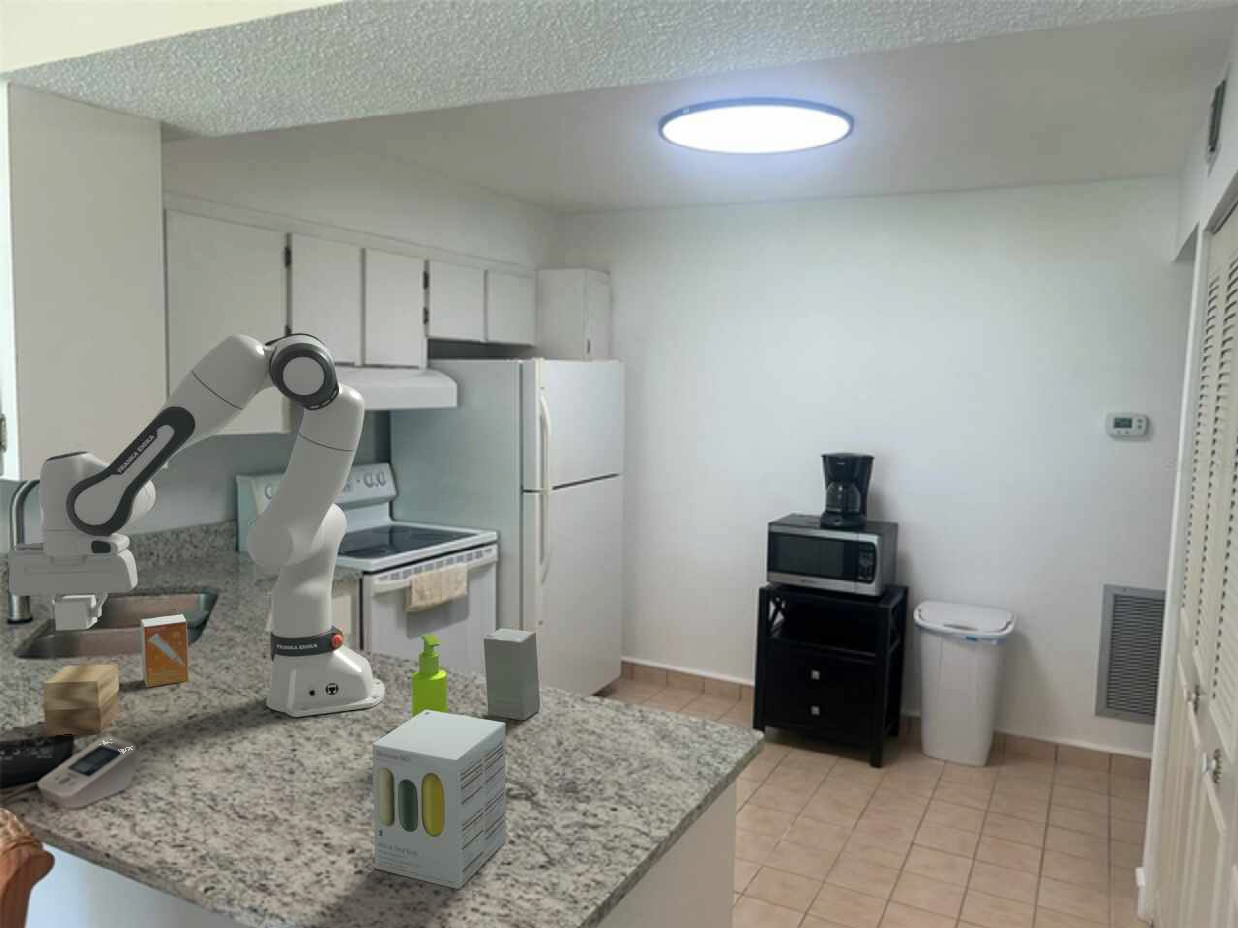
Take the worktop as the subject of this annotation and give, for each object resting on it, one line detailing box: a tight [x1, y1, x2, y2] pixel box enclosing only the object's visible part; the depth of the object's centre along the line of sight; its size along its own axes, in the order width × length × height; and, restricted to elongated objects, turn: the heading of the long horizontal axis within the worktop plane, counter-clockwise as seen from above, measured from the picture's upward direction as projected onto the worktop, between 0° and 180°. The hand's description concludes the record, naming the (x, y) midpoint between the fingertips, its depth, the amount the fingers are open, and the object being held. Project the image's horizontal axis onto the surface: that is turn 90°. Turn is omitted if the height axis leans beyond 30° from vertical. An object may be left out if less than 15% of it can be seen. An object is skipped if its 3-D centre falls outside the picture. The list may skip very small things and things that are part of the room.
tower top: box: [42, 663, 120, 710], centre depth 164 cm, size 9×9×5 cm
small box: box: [140, 613, 190, 688], centre depth 187 cm, size 8×6×13 cm
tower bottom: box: [43, 690, 120, 737], centre depth 164 cm, size 9×9×5 cm
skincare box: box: [483, 627, 541, 721], centre depth 171 cm, size 8×7×16 cm
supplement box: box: [371, 710, 507, 890], centre depth 121 cm, size 13×13×18 cm
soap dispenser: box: [411, 633, 448, 718], centre depth 155 cm, size 6×7×20 cm
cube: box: [54, 594, 98, 631], centre depth 162 cm, size 5×5×5 cm
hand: (76, 617), depth 162 cm, fingers closed on cube, 5 cm apart
